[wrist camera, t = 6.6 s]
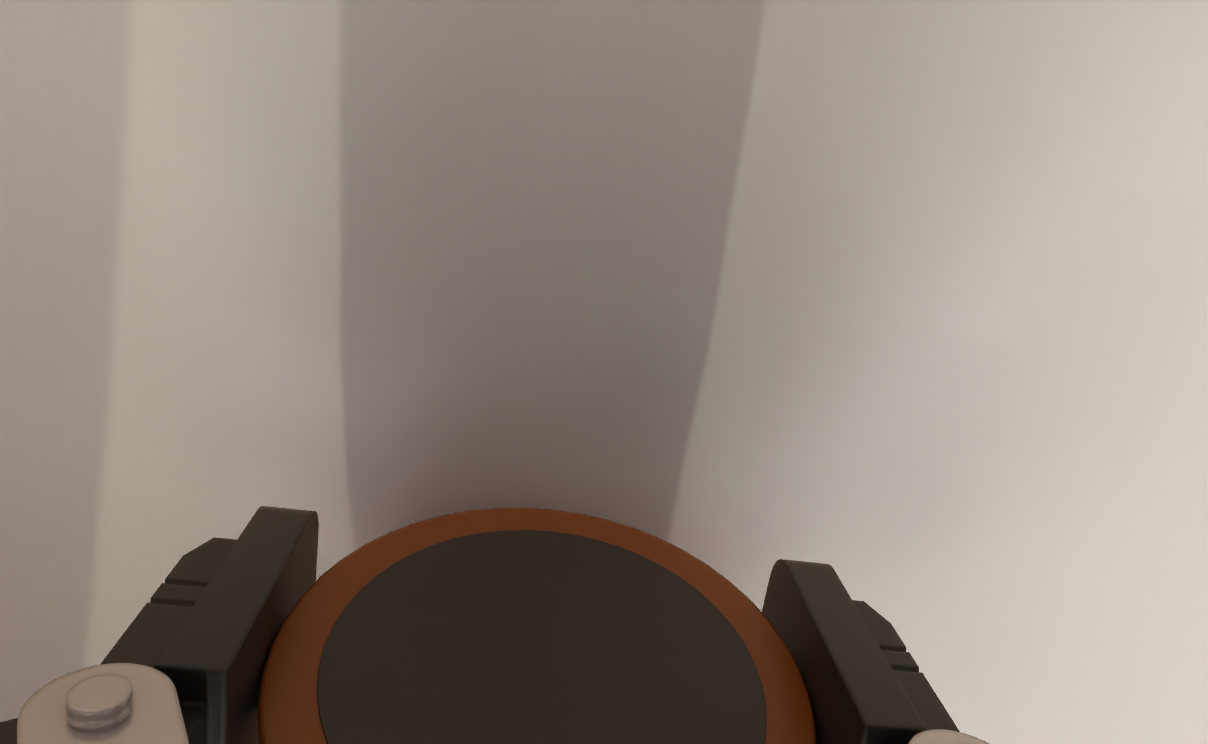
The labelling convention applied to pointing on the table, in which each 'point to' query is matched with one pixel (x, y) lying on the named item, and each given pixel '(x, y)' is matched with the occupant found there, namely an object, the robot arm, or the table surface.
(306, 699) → the brown striped cylinder
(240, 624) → the robot arm
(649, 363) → the table surface
